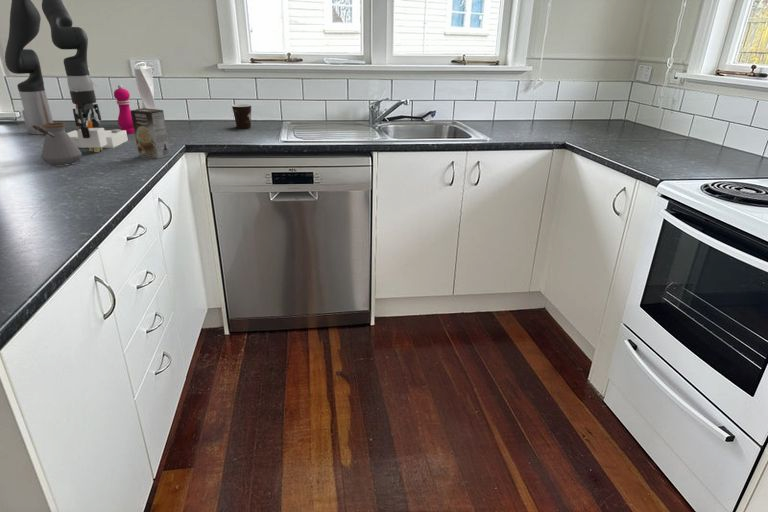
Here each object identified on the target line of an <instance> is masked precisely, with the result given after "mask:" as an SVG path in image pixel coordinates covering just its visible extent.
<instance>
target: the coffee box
mask: <svg viewBox="0 0 768 512" xmlns="http://www.w3.org/2000/svg"><path fill="white" fill-rule="evenodd" d="M130 110H131V116H132V122H133V127H134V132H135V133H134V137H135V141H136V146H137V147H136V148H137V154H138V156H139V157H142V158H149V159H158V160H159V159H162V158H165V157H169V156H171V153H170V152H171V151H170V146H169V145H170V144H169V140H168V132H167V126H166V120H165V113H164V110H163V109H148V108H142V107H140V109H138V108H136V109H130Z"/></svg>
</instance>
